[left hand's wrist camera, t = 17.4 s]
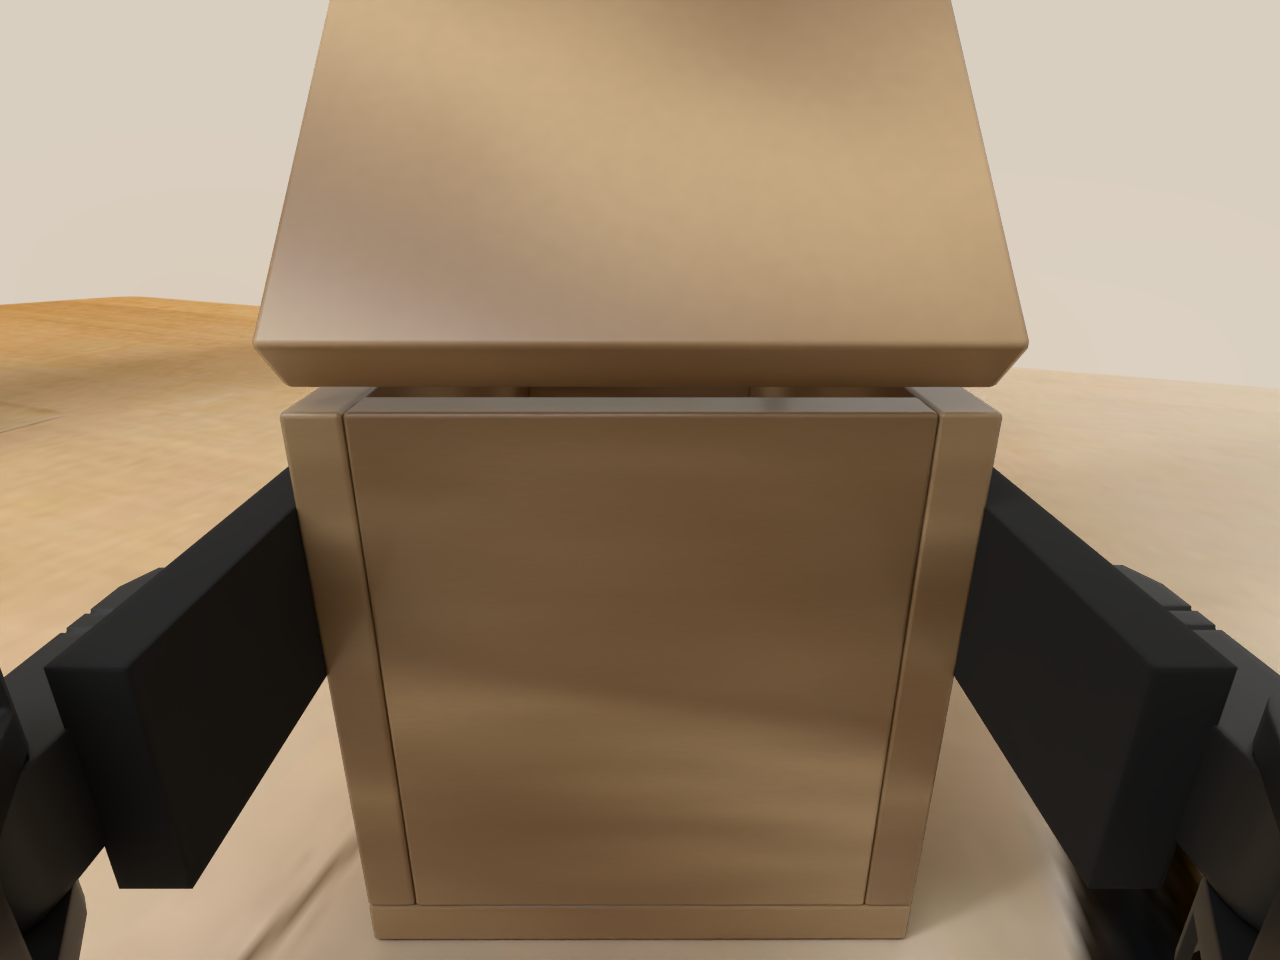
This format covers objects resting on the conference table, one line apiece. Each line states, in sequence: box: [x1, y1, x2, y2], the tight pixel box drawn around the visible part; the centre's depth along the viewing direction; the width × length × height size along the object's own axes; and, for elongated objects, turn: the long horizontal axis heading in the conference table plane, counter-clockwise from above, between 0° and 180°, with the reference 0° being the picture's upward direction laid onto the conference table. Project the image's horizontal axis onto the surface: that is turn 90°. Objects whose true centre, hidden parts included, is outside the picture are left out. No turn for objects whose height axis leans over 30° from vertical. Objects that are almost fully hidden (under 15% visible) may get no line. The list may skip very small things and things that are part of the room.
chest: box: [280, 387, 1002, 939], centre depth 19 cm, size 17×9×10 cm, turn 0°
